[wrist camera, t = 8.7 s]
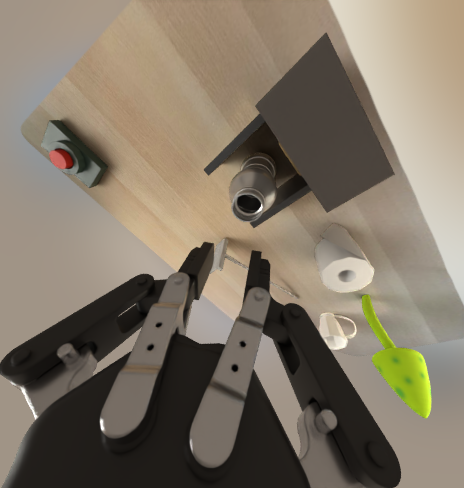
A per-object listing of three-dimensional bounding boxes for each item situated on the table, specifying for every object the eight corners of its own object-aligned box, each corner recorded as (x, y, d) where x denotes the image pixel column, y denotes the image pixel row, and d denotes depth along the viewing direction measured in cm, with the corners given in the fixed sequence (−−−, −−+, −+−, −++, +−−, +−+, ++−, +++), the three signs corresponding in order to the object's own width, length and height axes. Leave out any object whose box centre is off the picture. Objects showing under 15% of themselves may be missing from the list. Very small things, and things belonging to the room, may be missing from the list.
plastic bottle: (239, 154, 37) (211, 184, 21) (275, 147, 36) (274, 174, 19) (245, 186, 41) (225, 235, 24) (277, 181, 39) (279, 230, 23)
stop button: (54, 157, 41) (47, 158, 40) (59, 145, 40) (51, 146, 38) (70, 170, 42) (63, 172, 41) (75, 159, 41) (68, 161, 39)
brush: (286, 287, 61) (289, 316, 54) (216, 244, 51) (209, 273, 44) (296, 283, 59) (300, 312, 52) (224, 237, 49) (218, 266, 42)
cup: (311, 312, 58) (315, 337, 51) (347, 305, 54) (357, 331, 47) (318, 325, 61) (324, 351, 54) (353, 320, 57) (364, 347, 50)
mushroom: (369, 311, 54) (426, 432, 33) (341, 301, 53) (382, 416, 33) (392, 293, 49) (477, 421, 28) (362, 281, 48) (424, 402, 28)
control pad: (50, 144, 44) (32, 146, 40) (59, 120, 40) (40, 120, 37) (96, 185, 48) (83, 190, 44) (108, 166, 44) (94, 170, 41)
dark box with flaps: (258, 210, 43) (250, 256, 29) (215, 157, 39) (181, 182, 25) (345, 149, 34) (395, 174, 20) (302, 71, 29) (326, 31, 15)
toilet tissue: (332, 214, 41) (344, 235, 34) (366, 254, 44) (383, 280, 37) (296, 238, 45) (300, 260, 38) (329, 272, 49) (338, 298, 42)
